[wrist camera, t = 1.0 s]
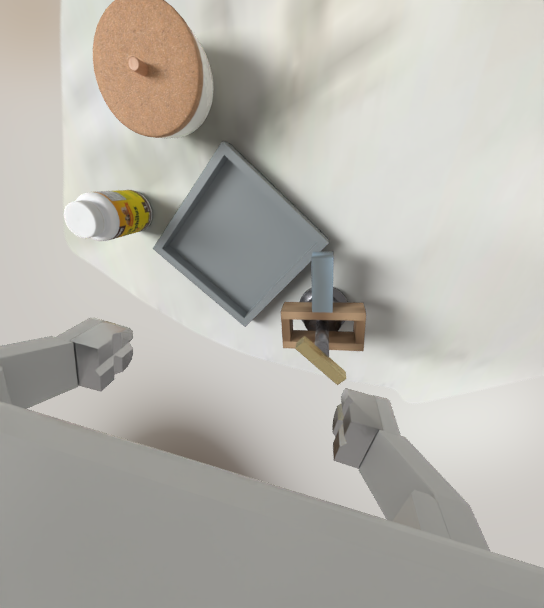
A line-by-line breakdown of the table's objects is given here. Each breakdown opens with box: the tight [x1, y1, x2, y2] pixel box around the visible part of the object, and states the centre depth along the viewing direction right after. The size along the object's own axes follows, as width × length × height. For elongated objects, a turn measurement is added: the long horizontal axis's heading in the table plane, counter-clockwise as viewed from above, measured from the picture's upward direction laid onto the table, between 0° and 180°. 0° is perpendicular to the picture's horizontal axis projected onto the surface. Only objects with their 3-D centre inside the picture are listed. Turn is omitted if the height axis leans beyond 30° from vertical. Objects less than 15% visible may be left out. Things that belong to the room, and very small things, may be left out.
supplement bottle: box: [64, 190, 152, 241], centre depth 35 cm, size 6×6×10 cm
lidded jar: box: [93, 0, 213, 139], centre depth 29 cm, size 11×11×9 cm
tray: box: [153, 141, 329, 327], centre depth 38 cm, size 17×17×2 cm
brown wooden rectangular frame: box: [281, 251, 366, 351], centre depth 35 cm, size 10×12×3 cm
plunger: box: [295, 287, 347, 385], centre depth 35 cm, size 7×7×14 cm
